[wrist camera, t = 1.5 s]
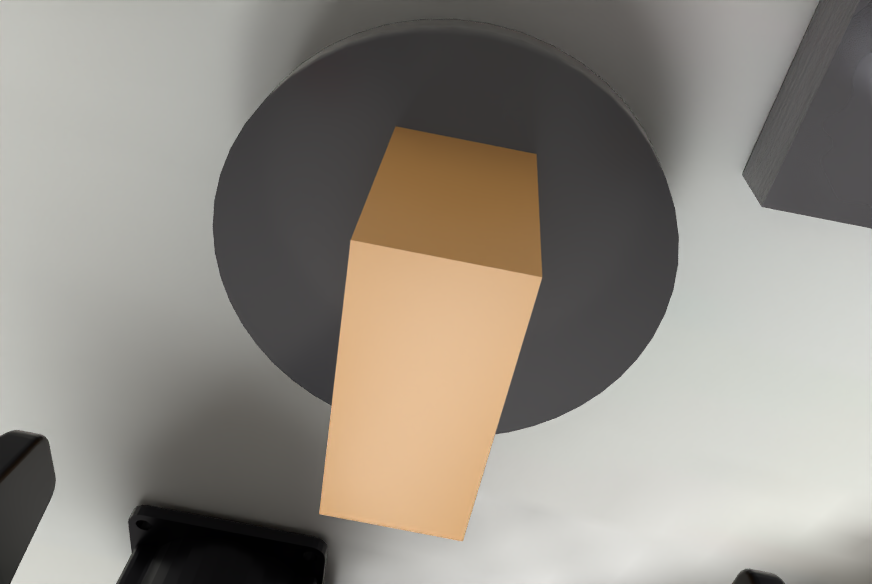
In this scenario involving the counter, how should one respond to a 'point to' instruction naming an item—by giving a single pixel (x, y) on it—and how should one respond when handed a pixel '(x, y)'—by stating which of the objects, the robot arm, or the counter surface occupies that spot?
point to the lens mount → (822, 123)
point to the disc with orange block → (442, 252)
